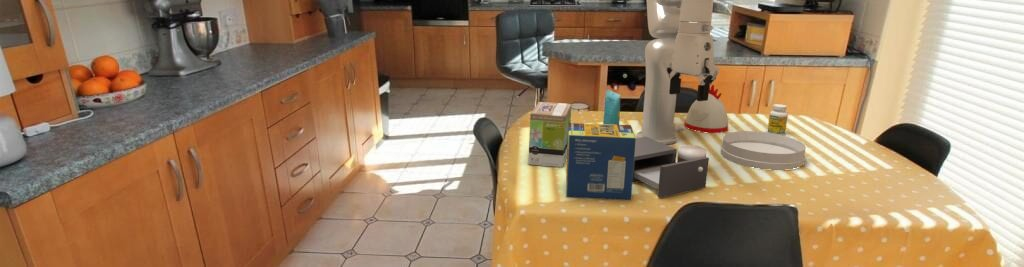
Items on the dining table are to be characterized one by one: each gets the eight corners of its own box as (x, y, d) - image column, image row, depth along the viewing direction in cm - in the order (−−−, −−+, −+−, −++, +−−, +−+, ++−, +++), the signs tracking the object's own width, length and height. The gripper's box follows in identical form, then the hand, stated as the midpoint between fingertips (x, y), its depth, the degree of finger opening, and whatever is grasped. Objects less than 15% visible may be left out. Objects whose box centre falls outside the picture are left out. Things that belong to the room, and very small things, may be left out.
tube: (623, 161, 155) (628, 94, 149) (609, 163, 153) (613, 95, 147) (608, 153, 161) (612, 88, 155) (594, 155, 159) (597, 90, 153)
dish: (813, 158, 160) (816, 141, 158) (788, 177, 144) (791, 159, 143) (737, 141, 174) (739, 126, 173) (707, 158, 159) (709, 141, 157)
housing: (600, 168, 148) (602, 144, 146) (643, 160, 155) (645, 136, 153) (629, 183, 138) (631, 157, 136) (674, 174, 145) (677, 148, 143)
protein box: (565, 181, 139) (568, 122, 135) (627, 184, 138) (632, 124, 134) (565, 197, 129) (567, 134, 125) (631, 201, 128) (636, 137, 124)
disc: (691, 150, 148) (692, 143, 148) (711, 158, 142) (712, 151, 142) (672, 154, 145) (672, 147, 144) (692, 162, 139) (692, 155, 138)
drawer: (627, 181, 139) (629, 152, 137) (670, 172, 146) (673, 144, 144) (662, 198, 129) (665, 167, 127) (707, 188, 135) (710, 158, 133)
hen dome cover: (698, 120, 198) (702, 78, 194) (734, 128, 189) (740, 85, 184) (677, 126, 189) (681, 84, 185) (714, 135, 180) (720, 90, 175)
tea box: (564, 168, 149) (566, 115, 144) (527, 165, 151) (528, 112, 146) (569, 151, 163) (571, 102, 159) (536, 148, 165) (537, 100, 161)
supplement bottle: (785, 133, 183) (790, 105, 180) (783, 137, 179) (788, 108, 176) (768, 130, 186) (772, 102, 183) (765, 134, 181) (770, 106, 179)
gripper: (733, 31, 130) (725, 102, 134) (680, 26, 145) (675, 90, 149) (709, 31, 127) (702, 104, 131) (658, 26, 142) (653, 92, 146)
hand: (688, 97), depth 140 cm, fingers open, 9 cm apart
